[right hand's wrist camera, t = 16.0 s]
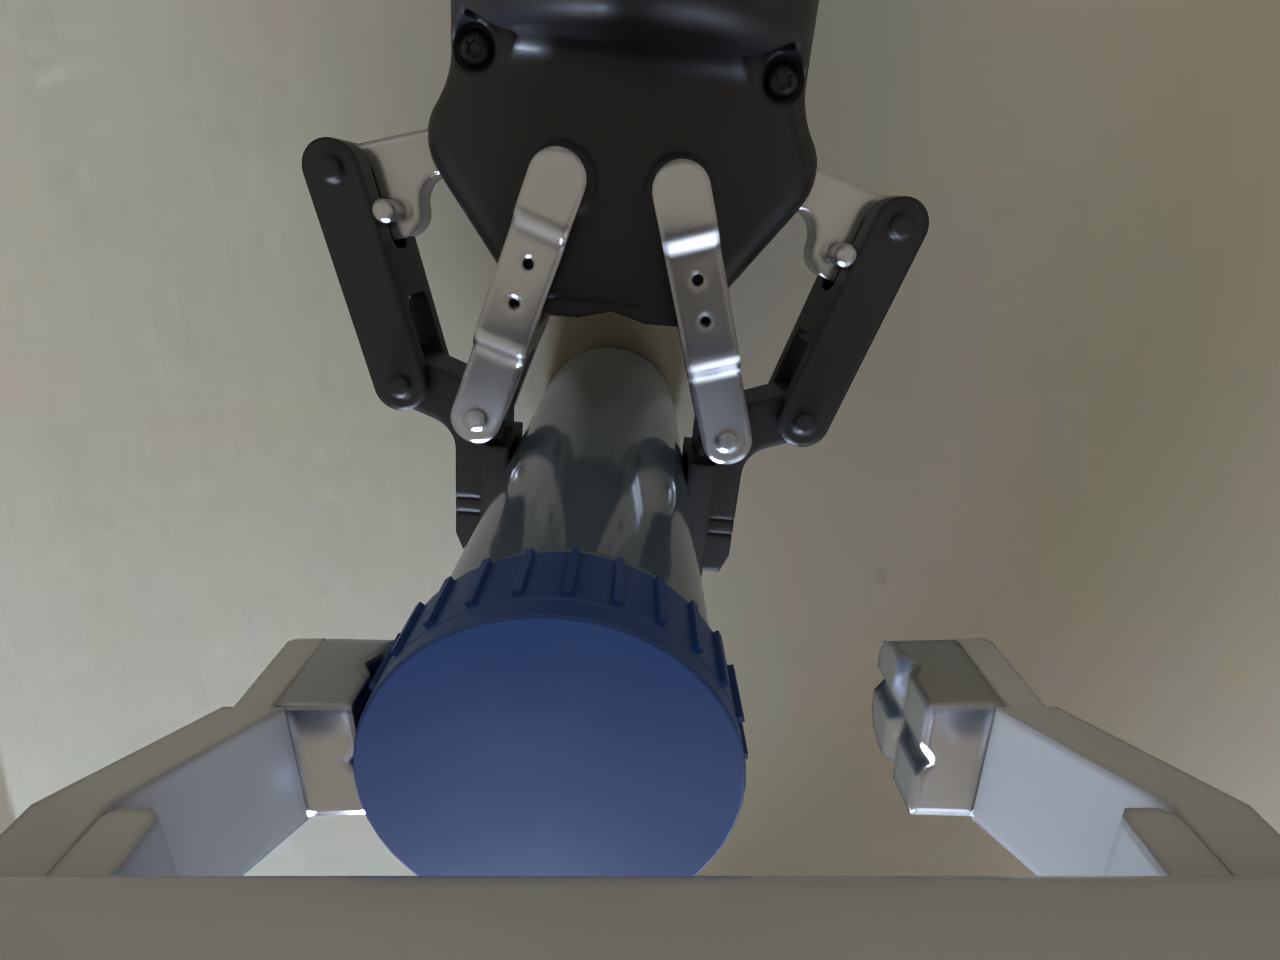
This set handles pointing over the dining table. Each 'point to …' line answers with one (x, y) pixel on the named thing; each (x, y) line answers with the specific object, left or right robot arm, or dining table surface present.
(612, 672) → the lid
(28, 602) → the dining table surface
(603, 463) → the jar
